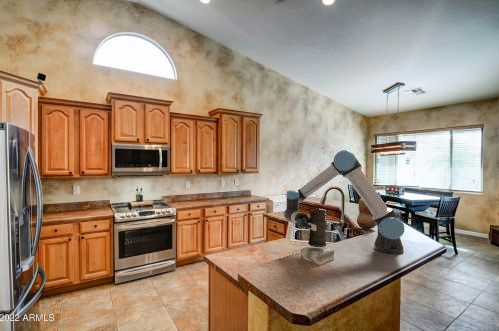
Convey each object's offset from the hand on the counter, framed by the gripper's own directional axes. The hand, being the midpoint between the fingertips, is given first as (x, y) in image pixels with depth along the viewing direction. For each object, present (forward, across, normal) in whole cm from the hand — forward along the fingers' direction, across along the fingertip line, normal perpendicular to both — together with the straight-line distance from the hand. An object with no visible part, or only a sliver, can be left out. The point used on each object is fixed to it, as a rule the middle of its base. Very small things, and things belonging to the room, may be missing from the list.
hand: (322, 227), depth 128 cm
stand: (-5, 0, -17) cm, 18 cm away
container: (-5, 0, -10) cm, 11 cm away
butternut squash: (-49, -74, -17) cm, 91 cm away
